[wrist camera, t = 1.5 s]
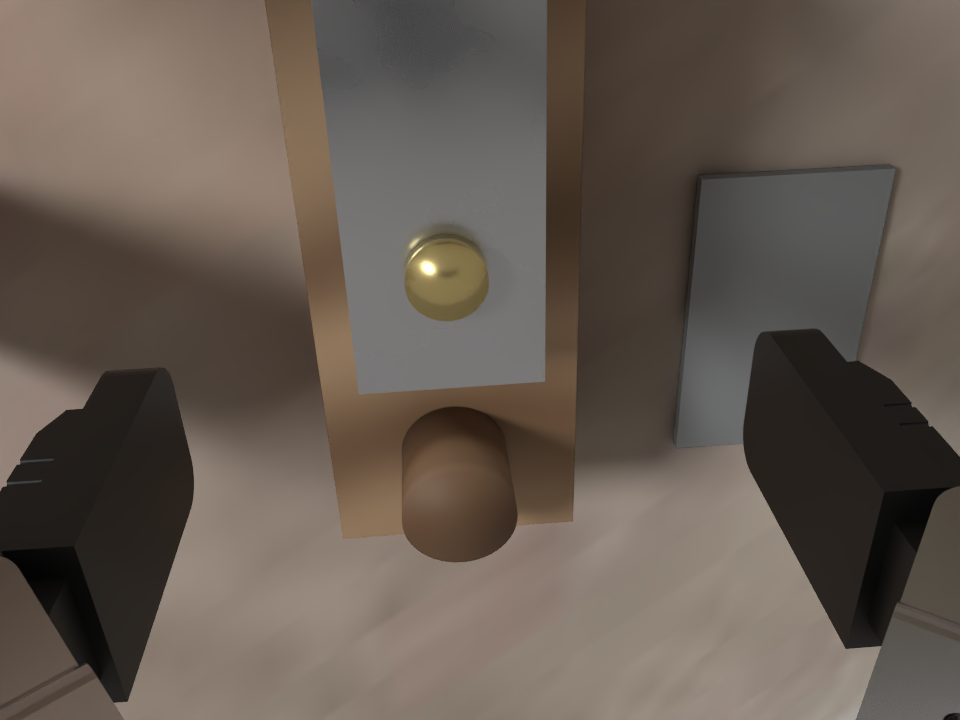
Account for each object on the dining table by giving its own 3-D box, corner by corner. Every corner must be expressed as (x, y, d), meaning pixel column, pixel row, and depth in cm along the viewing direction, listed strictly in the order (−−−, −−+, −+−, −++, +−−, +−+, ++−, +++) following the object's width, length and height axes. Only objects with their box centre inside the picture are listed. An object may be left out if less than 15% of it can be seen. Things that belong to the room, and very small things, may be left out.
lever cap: (321, -39, 19) (306, -14, 16) (527, -48, 19) (552, -25, 16) (363, 333, 24) (358, 408, 21) (529, 322, 24) (548, 395, 21)
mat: (698, 175, 27) (702, 179, 27) (889, 164, 28) (896, 168, 27) (673, 442, 32) (676, 448, 32) (835, 430, 33) (839, 436, 32)
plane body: (261, -246, 21) (166, -300, 13) (555, -256, 22) (657, -315, 13) (351, 441, 31) (332, 671, 23) (549, 427, 32) (604, 649, 23)
